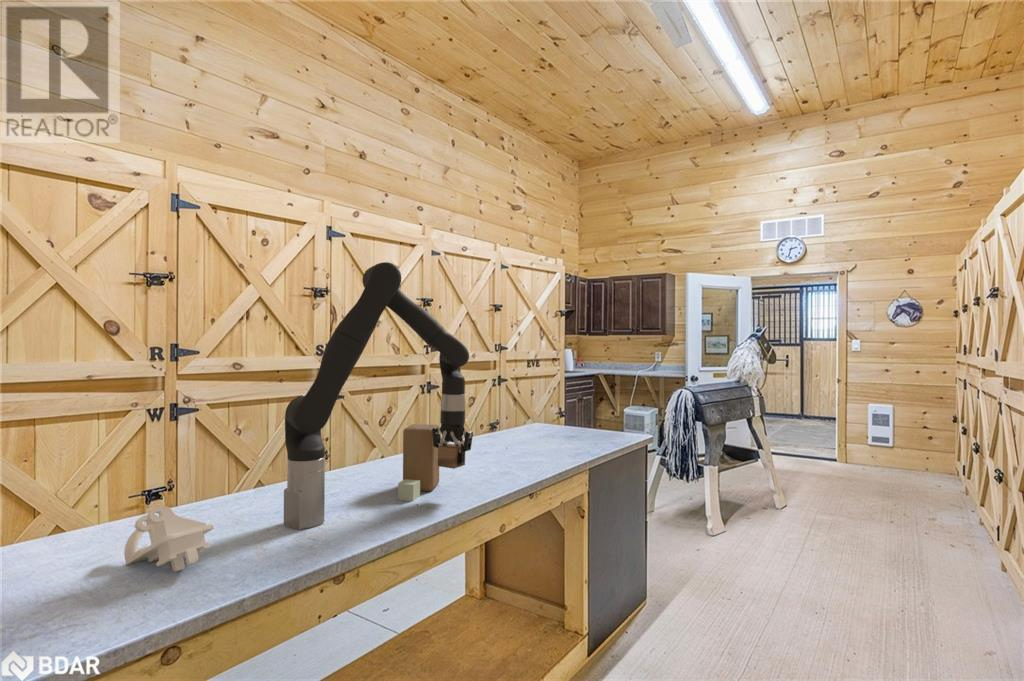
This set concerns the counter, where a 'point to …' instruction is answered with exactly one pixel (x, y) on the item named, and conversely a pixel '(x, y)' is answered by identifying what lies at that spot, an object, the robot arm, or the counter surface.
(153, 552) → the beige angular piece
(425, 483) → the wooden block
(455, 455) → the walnut cube
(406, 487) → the sage cube
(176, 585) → the counter surface
